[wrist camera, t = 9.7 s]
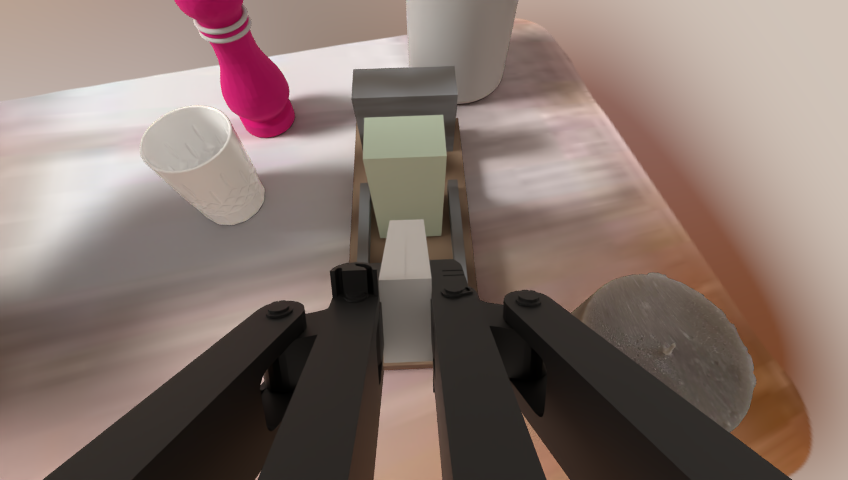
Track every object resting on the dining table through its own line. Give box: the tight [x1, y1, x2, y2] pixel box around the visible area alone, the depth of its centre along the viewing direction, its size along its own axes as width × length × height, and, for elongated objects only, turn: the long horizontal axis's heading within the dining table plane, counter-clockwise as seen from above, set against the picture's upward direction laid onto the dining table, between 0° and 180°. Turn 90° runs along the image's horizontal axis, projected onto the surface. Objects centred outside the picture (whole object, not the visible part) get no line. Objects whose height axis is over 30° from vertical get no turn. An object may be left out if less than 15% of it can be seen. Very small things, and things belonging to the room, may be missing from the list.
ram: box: [363, 115, 447, 238], centre depth 34 cm, size 5×7×12 cm
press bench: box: [349, 66, 478, 370], centre depth 37 cm, size 28×12×10 cm, turn 3°
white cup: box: [140, 105, 265, 225], centre depth 39 cm, size 8×8×10 cm
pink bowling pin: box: [175, 0, 295, 138], centre depth 40 cm, size 7×7×20 cm
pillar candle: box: [571, 273, 756, 433], centre depth 28 cm, size 10×10×15 cm
